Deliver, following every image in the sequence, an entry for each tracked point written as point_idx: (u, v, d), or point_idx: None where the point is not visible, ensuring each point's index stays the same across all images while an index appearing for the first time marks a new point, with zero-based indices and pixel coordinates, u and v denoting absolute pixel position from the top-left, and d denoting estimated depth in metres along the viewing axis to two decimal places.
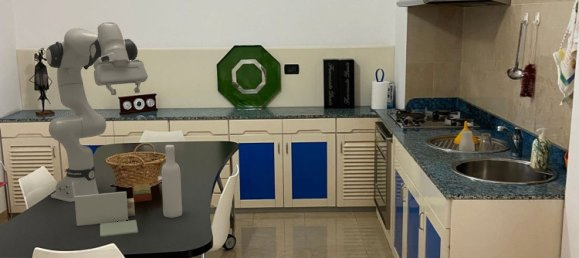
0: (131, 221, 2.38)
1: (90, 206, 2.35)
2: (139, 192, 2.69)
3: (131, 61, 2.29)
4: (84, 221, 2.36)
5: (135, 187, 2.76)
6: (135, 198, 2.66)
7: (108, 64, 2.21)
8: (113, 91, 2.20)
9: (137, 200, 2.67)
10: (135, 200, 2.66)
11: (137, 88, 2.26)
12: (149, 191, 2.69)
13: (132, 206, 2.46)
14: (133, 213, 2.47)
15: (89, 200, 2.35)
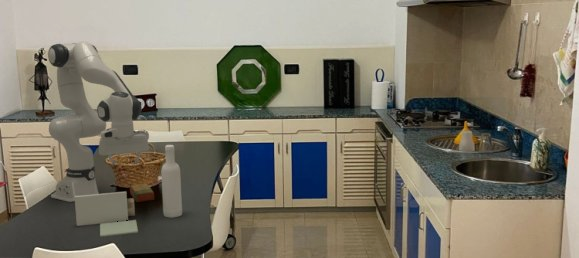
0: (131, 221, 2.38)
1: (90, 206, 2.35)
2: (141, 192, 2.69)
3: (136, 132, 2.44)
4: (84, 221, 2.36)
5: (134, 187, 2.76)
6: (138, 198, 2.66)
7: (111, 139, 2.39)
8: (112, 163, 2.42)
9: (140, 200, 2.67)
10: (138, 200, 2.66)
11: (136, 160, 2.45)
12: (151, 191, 2.70)
13: (132, 206, 2.46)
14: (133, 213, 2.47)
15: (89, 200, 2.35)
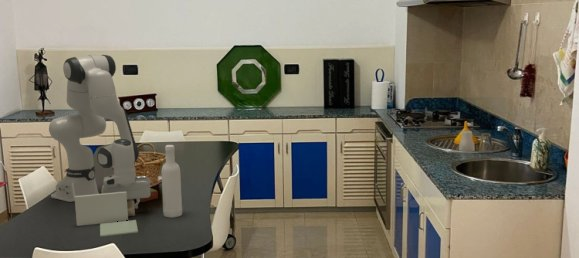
0: (131, 221, 2.38)
1: (90, 206, 2.35)
2: None
3: (138, 178, 2.48)
4: (84, 221, 2.36)
5: None
6: (144, 198, 2.67)
7: (113, 186, 2.43)
8: None
9: (145, 199, 2.68)
10: (144, 200, 2.67)
11: (135, 205, 2.49)
12: (154, 190, 2.72)
13: (132, 206, 2.46)
14: (133, 213, 2.47)
15: (89, 200, 2.35)
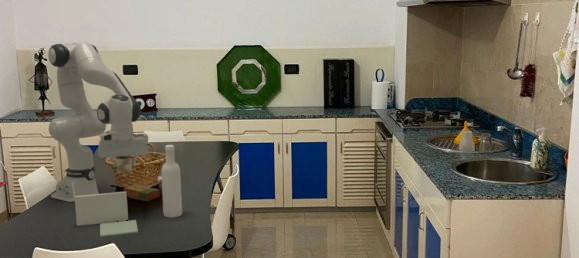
0: (131, 221, 2.38)
1: (90, 206, 2.35)
2: (148, 191, 2.70)
3: (136, 135, 2.45)
4: (84, 221, 2.36)
5: (132, 189, 2.74)
6: (148, 197, 2.68)
7: (110, 142, 2.40)
8: (114, 165, 2.44)
9: (150, 199, 2.69)
10: (148, 199, 2.68)
11: (133, 163, 2.46)
12: (156, 189, 2.74)
13: (129, 163, 2.43)
14: (130, 170, 2.44)
15: (89, 200, 2.35)
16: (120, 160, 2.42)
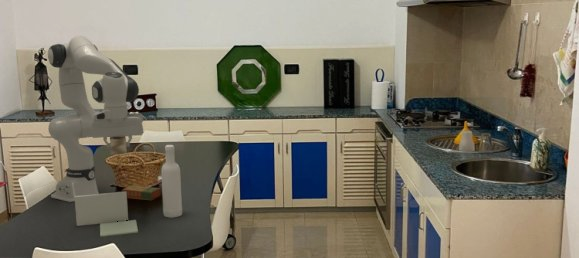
0: (131, 221, 2.38)
1: (90, 206, 2.35)
2: (150, 190, 2.71)
3: (130, 114, 2.34)
4: (84, 221, 2.36)
5: (132, 189, 2.73)
6: (152, 196, 2.69)
7: (103, 121, 2.29)
8: (107, 146, 2.33)
9: (154, 197, 2.70)
10: (153, 198, 2.69)
11: (127, 143, 2.35)
12: (156, 188, 2.76)
13: (124, 143, 2.33)
14: (125, 150, 2.33)
15: (89, 200, 2.35)
16: (114, 140, 2.31)
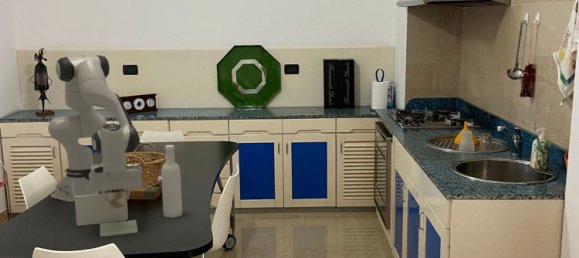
0: (131, 221, 2.38)
1: (90, 206, 2.35)
2: (152, 189, 2.73)
3: (129, 167, 2.28)
4: (84, 221, 2.36)
5: (133, 190, 2.72)
6: (156, 195, 2.71)
7: (101, 175, 2.23)
8: (106, 199, 2.27)
9: (157, 196, 2.72)
10: (156, 197, 2.71)
11: (126, 196, 2.29)
12: (156, 187, 2.77)
13: (122, 196, 2.26)
14: (123, 204, 2.27)
15: (89, 200, 2.35)
16: (112, 194, 2.25)
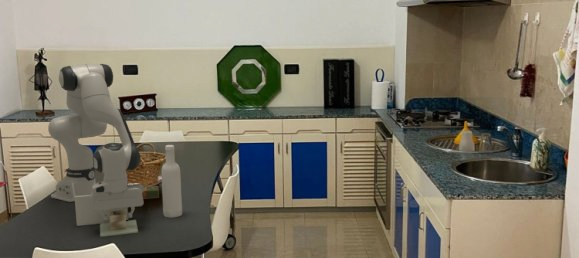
0: (131, 221, 2.38)
1: None
2: (153, 188, 2.74)
3: (130, 185, 2.29)
4: (84, 221, 2.36)
5: None
6: (158, 193, 2.73)
7: (103, 194, 2.24)
8: (104, 218, 2.28)
9: None
10: None
11: (130, 214, 2.31)
12: (155, 186, 2.79)
13: (124, 219, 2.28)
14: (125, 226, 2.29)
15: (89, 200, 2.35)
16: (114, 216, 2.27)
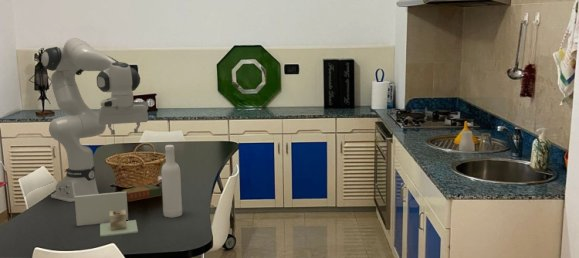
0: (131, 221, 2.38)
1: (90, 206, 2.35)
2: (153, 187, 2.77)
3: (136, 102, 2.47)
4: (84, 221, 2.36)
5: (137, 190, 2.70)
6: None
7: (110, 108, 2.42)
8: (112, 132, 2.45)
9: None
10: None
11: (135, 130, 2.48)
12: (150, 185, 2.81)
13: (124, 219, 2.28)
14: (125, 226, 2.29)
15: (89, 200, 2.35)
16: (114, 216, 2.27)
